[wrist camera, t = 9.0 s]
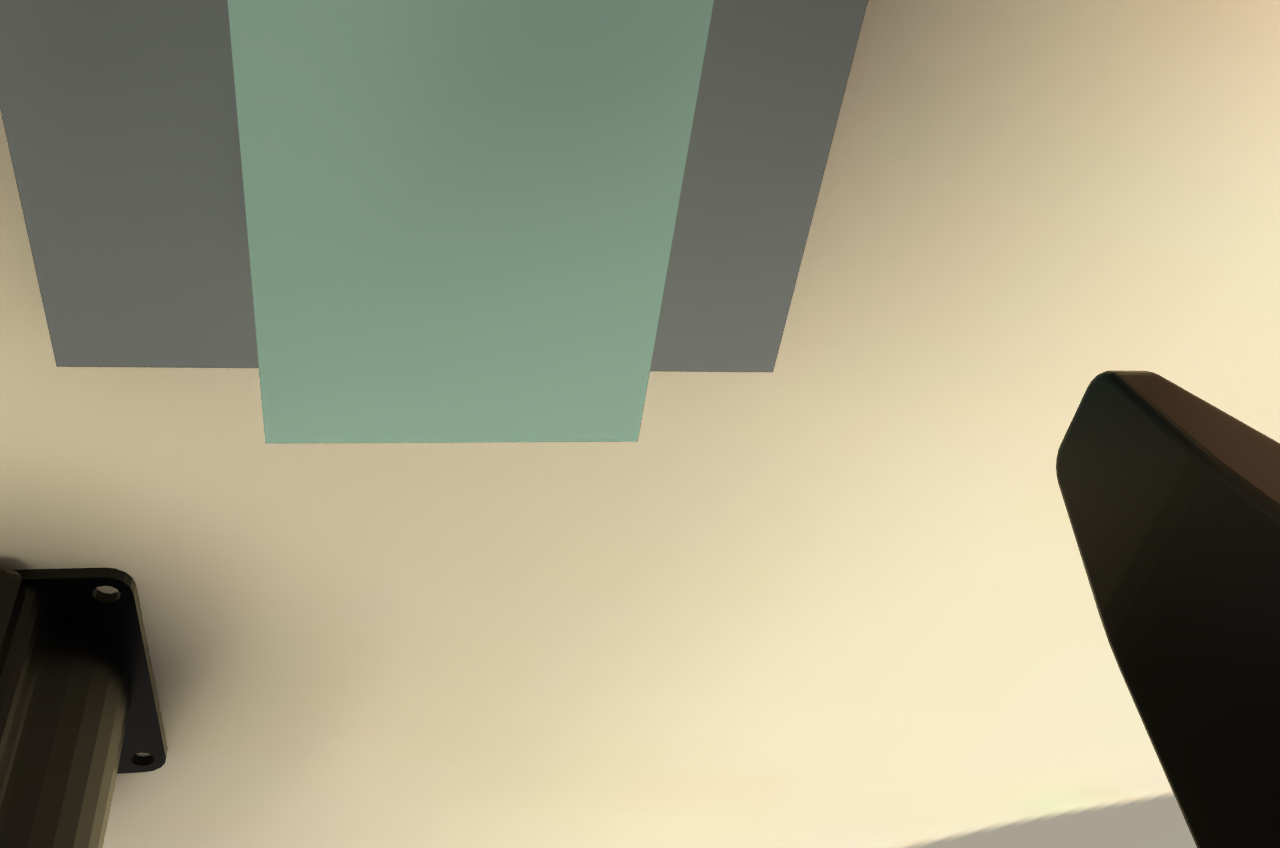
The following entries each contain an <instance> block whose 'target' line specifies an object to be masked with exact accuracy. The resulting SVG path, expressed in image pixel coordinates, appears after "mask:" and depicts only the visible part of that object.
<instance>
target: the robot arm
mask: <svg viewBox="0 0 1280 848" xmlns="http://www.w3.org/2000/svg"><path fill="white" fill-rule="evenodd" d="M1056 472H1057V479H1058V483H1059V487H1060V490H1061V493H1062V496H1063V499H1064V503H1065V506H1066V509H1067V512H1068V515H1069V519H1070V522H1071V525H1072V528H1073V532H1074V535H1075V538H1076V541H1077V544H1078V548H1079V551H1080V554H1081V557H1082V560H1083V564H1084V567H1085V570H1086V573H1087V576H1088V580H1089V583H1090V586H1091V589H1092V592H1093V596H1094V599H1095V602H1096V605H1097V609H1098V612H1099V615H1100V618H1101V621H1102V624H1103V627H1104V629H1105V632H1106V635H1107V638H1108V641H1109V644H1110V646H1111V649H1112V651H1113V654H1114V656H1115V659H1116V661H1117V664H1118V666H1119V669H1120V671H1121V673H1122V676H1123V678H1124V680H1125V683H1126V685H1127V687H1128V690H1129V692H1130V694H1131V696H1132V699H1133V701H1134V703H1135V706H1136V708H1137V710H1138V713H1139V715H1140V717H1141V719H1142V722H1143V724H1144V726H1145V729H1146V731H1147V733H1148V736H1149V738H1150V740H1151V742H1152V745H1153V747H1154V749H1155V752H1156V754H1157V756H1158V759H1159V761H1160V763H1161V765H1162V768H1163V770H1164V772H1165V775H1166V777H1167V779H1168V782H1169V784H1170V786H1171V788H1172V791H1173V793H1174V795H1175V798H1176V800H1177V802H1178V804H1179V807H1180V809H1181V811H1182V814H1183V816H1184V818H1185V820H1186V823H1187V825H1188V827H1189V830H1190V832H1191V834H1192V837H1193V839H1194V841H1195V844H1196V846H1197V848H1280V443H1278V442H1276V441H1274V440H1273V439H1271V438H1269V437H1267V436H1266V435H1264V434H1262V433H1260V432H1259V431H1257V430H1255V429H1253V428H1251V427H1250V426H1248V425H1246V424H1244V423H1243V422H1241V421H1239V420H1237V419H1236V418H1234V417H1232V416H1230V415H1229V414H1227V413H1225V412H1223V411H1221V410H1220V409H1218V408H1216V407H1214V406H1213V405H1211V404H1209V403H1207V402H1206V401H1204V400H1202V399H1200V398H1199V397H1197V396H1195V395H1193V394H1191V393H1190V392H1188V391H1186V390H1184V389H1183V388H1181V387H1179V386H1177V385H1176V384H1174V383H1172V382H1170V381H1169V380H1167V379H1165V378H1163V377H1161V376H1160V375H1158V374H1155V373H1152V372H1148V371H1106V372H1103V373H1100V374H1099V375H1097V376H1096V377H1095V378H1094V379H1093V380H1092V381H1091V383H1090V384H1089V386H1088V388H1087V390H1086V392H1085V394H1084V396H1083V398H1082V400H1081V403H1080V405H1079V407H1078V409H1077V411H1076V413H1075V415H1074V417H1073V420H1072V422H1071V424H1070V426H1069V428H1068V430H1067V432H1066V434H1065V436H1064V439H1063V441H1062V443H1061V445H1060V448H1059V450H1058V455H1057V461H1056ZM104 585H105V586H112V587H114V588H116V589H118V591H119V592H117V593H113V594H107V593H103V592H101V591H99V590H97V587H100V586H104ZM140 752H144V753H149V754H151V755H150V756H138V755H136V754H135V753H140ZM166 754H167V744H166V738H165V733H164V728H163V723H162V718H161V713H160V708H159V702H158V697H157V692H156V687H155V682H154V677H153V672H152V666H151V661H150V656H149V651H148V646H147V641H146V635H145V630H144V625H143V620H142V615H141V610H140V605H139V599H138V594H137V589H136V584H135V582H134V580H133V578H132V577H131V576H129V575H128V574H127V573H126V572H123V571H120V570H118V569H113V568H73V569H33V570H0V848H102V847H103V842H104V837H105V832H106V827H107V821H108V816H109V811H110V806H111V801H112V796H113V791H114V786H115V780H116V775H117V774H119V773H136V772H148V771H154V770H156V769H158V768H160V767H162V766H163V765H164V763H165V761H166Z"/></svg>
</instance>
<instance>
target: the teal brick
mask: <svg viewBox="0 0 1280 848" xmlns="http://www.w3.org/2000/svg"><path fill="white" fill-rule="evenodd" d="M227 1H228V12H229V24H230V36H231V47H232V59H233V71H234V82H235V94H236V105H237V117H238V129H239V140H240V152H241V164H242V175H243V187H244V199H245V210H246V222H247V234H248V245H249V257H250V269H251V280H252V292H253V303H254V315H255V327H256V338H257V350H258V362H259V373H260V385H261V397H262V408H263V420H264V432H265V443H439V442H622V441H638V436H639V430H640V425H641V419H642V413H643V407H644V401H645V396H646V390H647V384H648V378H649V373H650V367H651V361H652V355H653V349H654V344H655V338H656V332H657V326H658V321H659V315H660V309H661V303H662V297H663V292H664V286H665V280H666V274H667V268H668V263H669V257H670V251H671V245H672V240H673V234H674V228H675V222H676V216H677V211H678V205H679V199H680V193H681V188H682V182H683V176H684V170H685V164H686V159H687V153H688V147H689V141H690V135H691V130H692V124H693V118H694V112H695V107H696V101H697V95H698V89H699V83H700V78H701V72H702V66H703V60H704V55H705V49H706V43H707V37H708V31H709V26H710V20H711V14H712V8H713V2H714V0H227Z"/></svg>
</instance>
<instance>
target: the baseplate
mask: <svg viewBox="0 0 1280 848" xmlns="http://www.w3.org/2000/svg"><path fill="white" fill-rule="evenodd" d="M867 2H868V0H714V2H713V8H712V14H711V20H710V26H709V31H708V37H707V43H706V49H705V55H704V60H703V66H702V72H701V78H700V83H699V89H698V95H697V101H696V107H695V112H694V118H693V124H692V130H691V135H690V141H689V147H688V153H687V159H686V164H685V170H684V176H683V182H682V188H681V193H680V199H679V205H678V211H677V216H676V222H675V228H674V234H673V240H672V245H671V251H670V257H669V263H668V268H667V274H666V280H665V286H664V292H663V297H662V303H661V309H660V315H659V321H658V326H657V332H656V338H655V344H654V349H653V355H652V361H651V367H650V371H686V372H773V370H774V366H775V362H776V358H777V354H778V350H779V346H780V342H781V339H782V335H783V331H784V327H785V323H786V319H787V315H788V311H789V307H790V303H791V299H792V296H793V292H794V288H795V284H796V280H797V276H798V272H799V268H800V264H801V260H802V256H803V252H804V249H805V245H806V241H807V237H808V233H809V229H810V225H811V221H812V217H813V213H814V209H815V206H816V202H817V198H818V194H819V190H820V186H821V182H822V178H823V174H824V170H825V166H826V163H827V159H828V155H829V151H830V147H831V143H832V139H833V135H834V131H835V127H836V123H837V120H838V116H839V112H840V108H841V104H842V100H843V96H844V92H845V88H846V84H847V80H848V77H849V73H850V69H851V65H852V61H853V57H854V53H855V49H856V45H857V41H858V37H859V34H860V30H861V26H862V22H863V18H864V14H865V10H866V6H867ZM0 109H1V113H2V118H3V122H4V127H5V132H6V136H7V141H8V145H9V150H10V154H11V159H12V164H13V168H14V173H15V177H16V182H17V187H18V191H19V196H20V200H21V205H22V209H23V214H24V219H25V223H26V228H27V232H28V237H29V241H30V246H31V251H32V255H33V260H34V264H35V269H36V274H37V278H38V283H39V287H40V292H41V296H42V301H43V306H44V310H45V315H46V319H47V324H48V329H49V333H50V338H51V342H52V347H53V351H54V356H55V361H56V365H57V367H180V368H259V362H258V350H257V338H256V327H255V315H254V303H253V292H252V280H251V269H250V257H249V245H248V234H247V222H246V210H245V199H244V187H243V175H242V164H241V152H240V140H239V129H238V117H237V105H236V94H235V82H234V71H233V59H232V47H231V36H230V24H229V12H228V1H227V0H0Z"/></svg>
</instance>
